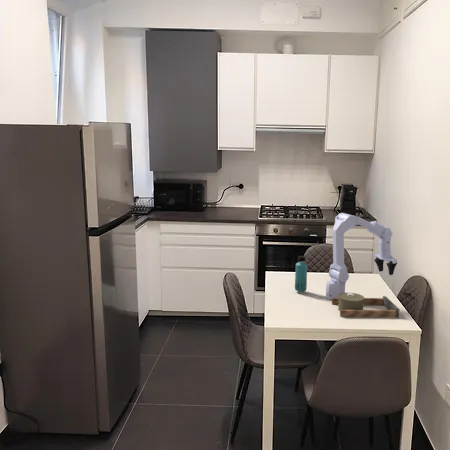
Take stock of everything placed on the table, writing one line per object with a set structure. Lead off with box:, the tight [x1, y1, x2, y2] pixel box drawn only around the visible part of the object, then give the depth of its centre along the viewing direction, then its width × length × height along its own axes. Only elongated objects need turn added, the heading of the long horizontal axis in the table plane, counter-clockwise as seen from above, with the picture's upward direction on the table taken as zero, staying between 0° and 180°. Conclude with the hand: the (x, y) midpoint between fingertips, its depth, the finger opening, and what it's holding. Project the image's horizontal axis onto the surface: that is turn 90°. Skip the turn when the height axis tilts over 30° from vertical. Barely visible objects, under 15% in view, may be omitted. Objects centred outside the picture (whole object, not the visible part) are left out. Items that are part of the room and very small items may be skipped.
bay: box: [331, 295, 400, 318], centre depth 218 cm, size 27×18×4 cm
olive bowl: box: [337, 292, 365, 312], centre depth 218 cm, size 12×12×7 cm
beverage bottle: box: [294, 255, 308, 292], centre depth 242 cm, size 6×7×20 cm
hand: (386, 272), depth 244 cm, fingers open, 7 cm apart
